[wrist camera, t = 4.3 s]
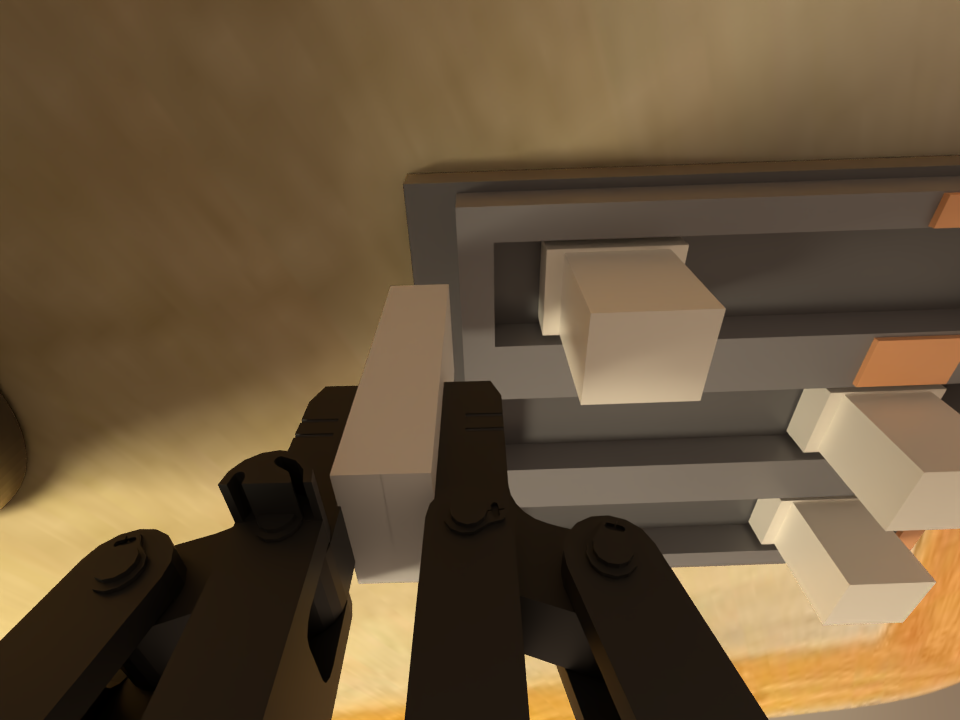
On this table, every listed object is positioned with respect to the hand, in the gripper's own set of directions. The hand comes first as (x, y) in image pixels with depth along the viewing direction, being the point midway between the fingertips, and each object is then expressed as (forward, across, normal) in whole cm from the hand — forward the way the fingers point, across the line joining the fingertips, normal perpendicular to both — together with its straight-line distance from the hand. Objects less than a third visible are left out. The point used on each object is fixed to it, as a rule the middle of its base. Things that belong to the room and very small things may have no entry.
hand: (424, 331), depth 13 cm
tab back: (+3, +16, -11) cm, 19 cm away
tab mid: (+3, +16, -5) cm, 17 cm away
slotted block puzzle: (+4, +10, -5) cm, 13 cm away
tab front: (+3, +5, 0) cm, 6 cm away
